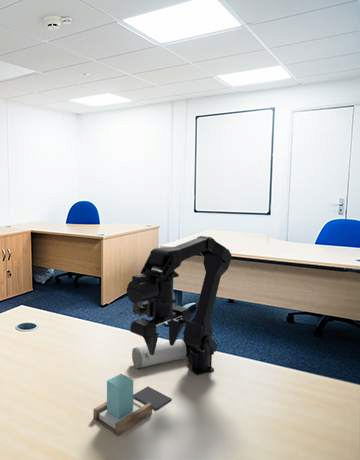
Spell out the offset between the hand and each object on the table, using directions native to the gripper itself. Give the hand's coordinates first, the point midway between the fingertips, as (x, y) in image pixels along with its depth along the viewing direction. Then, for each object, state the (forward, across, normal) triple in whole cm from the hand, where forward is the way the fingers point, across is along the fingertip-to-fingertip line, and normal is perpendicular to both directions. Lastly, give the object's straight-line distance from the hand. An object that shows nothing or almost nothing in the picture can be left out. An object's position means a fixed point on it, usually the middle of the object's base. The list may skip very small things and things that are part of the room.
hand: (161, 349), depth 97 cm
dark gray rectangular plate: (+12, +4, +1) cm, 13 cm away
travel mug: (+9, -3, -15) cm, 18 cm away
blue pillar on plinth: (+12, +16, +1) cm, 19 cm away
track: (+12, +15, +1) cm, 19 cm away
